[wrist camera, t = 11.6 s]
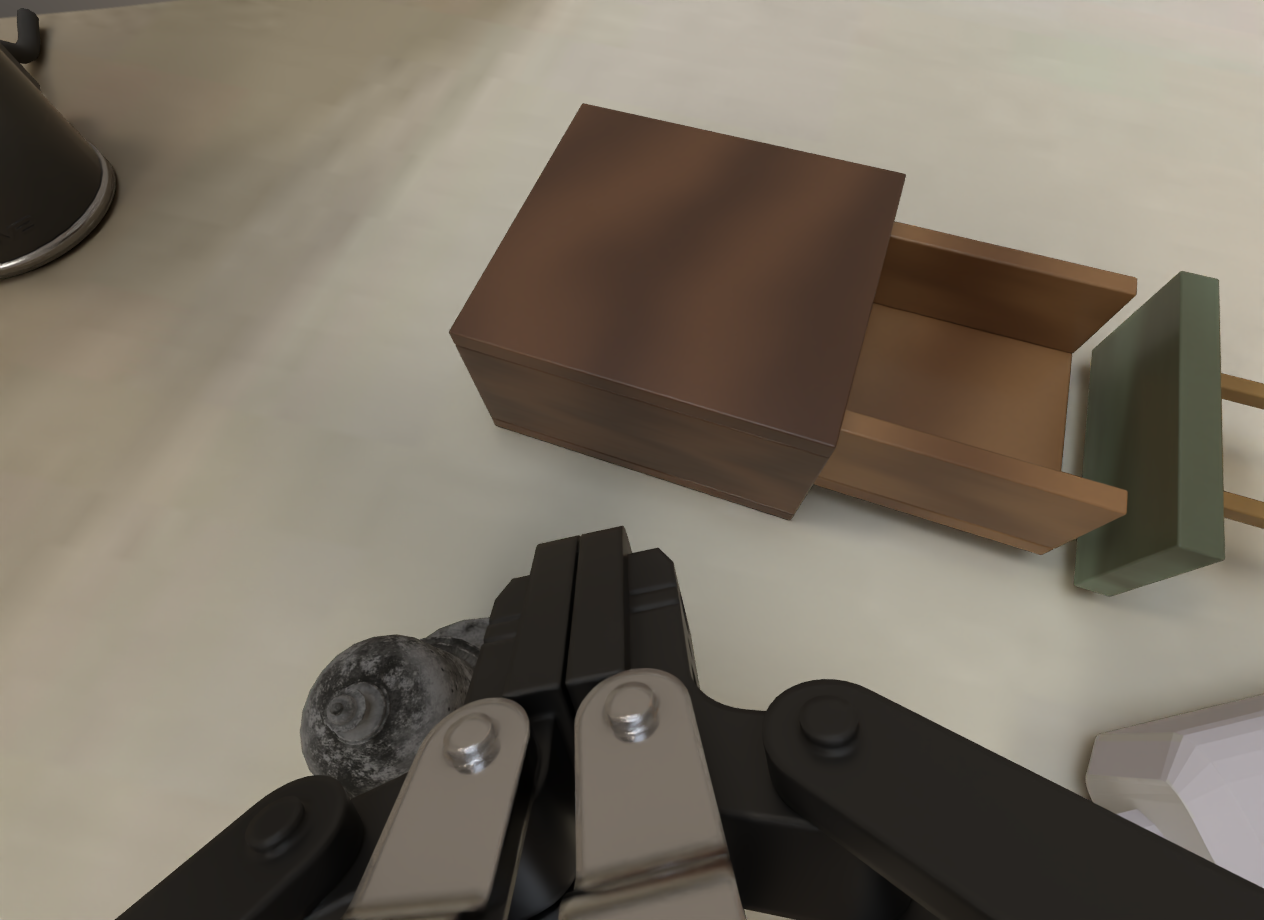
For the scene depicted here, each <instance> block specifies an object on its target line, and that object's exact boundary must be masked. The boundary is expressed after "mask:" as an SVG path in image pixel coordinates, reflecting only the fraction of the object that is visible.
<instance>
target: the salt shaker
mask: <svg viewBox="0 0 1264 920" xmlns="http://www.w3.org/2000/svg"><path fill="white" fill-rule="evenodd" d="M489 619H490V618H479V619H469V620H462V621H459V622H457V623H454V624H451V625H449V626H446V627H443V628H440V629H438V630H437V631H435V632H434V633H432V634H431V635H429V636H428V637H426V638H423V639H420V640H419V639H417V638H414V637H408V636H403V635H397V634H396V635H387V636H378V637H372V638H369V639H367V640H364V641H361V642H359V643H356V644H354V645H352V646H351V647H349V648H348V649H346V650H345V651H343V652H342V653H340V654H339V655H337V656H336V657H335V658H334V659H333V660H332V661H331V662H330V663H329V664H328V665H327V666H326V668H325V669H324V670H323V671H322V672H321V674H320V675H319V677H318V678H317V680H316V682H315V683H314V685H313V686H312V688H311V689H310V692H309V695H308V697H307V700H306V703H305V706H304V708H303V712H302V720H301V728H300V736H301V745H302V753H303V755H304V758H305V760H306V762H307V765H308V767H309V770H310V771H311V772H312V774H313V775H326V776H330V777H333V778H335V779H337V780H338V781H339V782H340V783H341V784H342V786H343V788H344V789H345V791H346V793H347V794H348V796H349V798H350V799H352V798H354V797H356V796H358V795H360V794H363V793H365V792H367V791H369V790H371V789H373V788H375V787H378V786H380V785H382V784H384V783H386V782H388V781H390V780H393V779H395V778H397V777H399V776H401V775H403V774H405V773H407V772H409V770H410V767H411V765H412V763H413V760H414V758H415V756H416V754H417V751H418V749H419V747H420V745H421V743H422V742H423V740H424V739H425V737H426V736H427V734H428V733H429V732H430V731H431V730H432V729H433V728H434V726H435V725H436V724H438V723H439V722H440V721H441V720H442V719H443V718H445V717H446V716H447V715H449V714H450V713H451V712H453V711H455V710H457V709H458V708H460V707H462V706H463V705H464V702H465V698H466V695H467V692H468V688H469V685H470V682H471V678H472V675H473V672H474V668H475V665H476V662H477V659H478V655H479V652H480V649H481V645H482V644H484V640H483V639H484V635H485V632H486V629H487V626H488V625H489Z"/></svg>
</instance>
